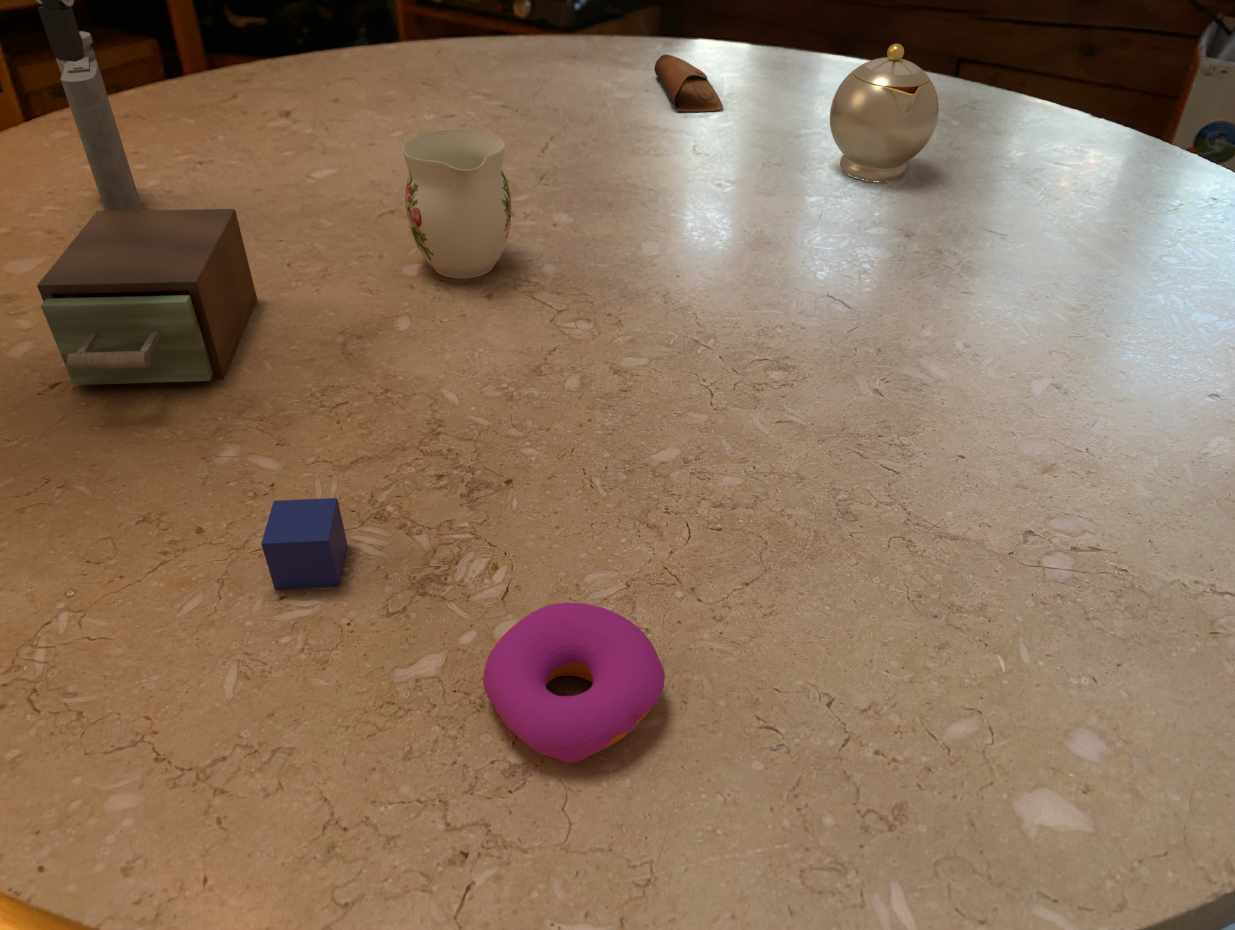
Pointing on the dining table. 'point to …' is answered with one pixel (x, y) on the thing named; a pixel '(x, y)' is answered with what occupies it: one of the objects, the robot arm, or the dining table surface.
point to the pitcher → (458, 199)
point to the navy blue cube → (305, 543)
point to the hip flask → (99, 130)
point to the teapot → (883, 117)
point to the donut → (573, 648)
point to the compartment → (128, 337)
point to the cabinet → (166, 267)
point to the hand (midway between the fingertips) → (31, 76)
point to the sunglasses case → (686, 85)
